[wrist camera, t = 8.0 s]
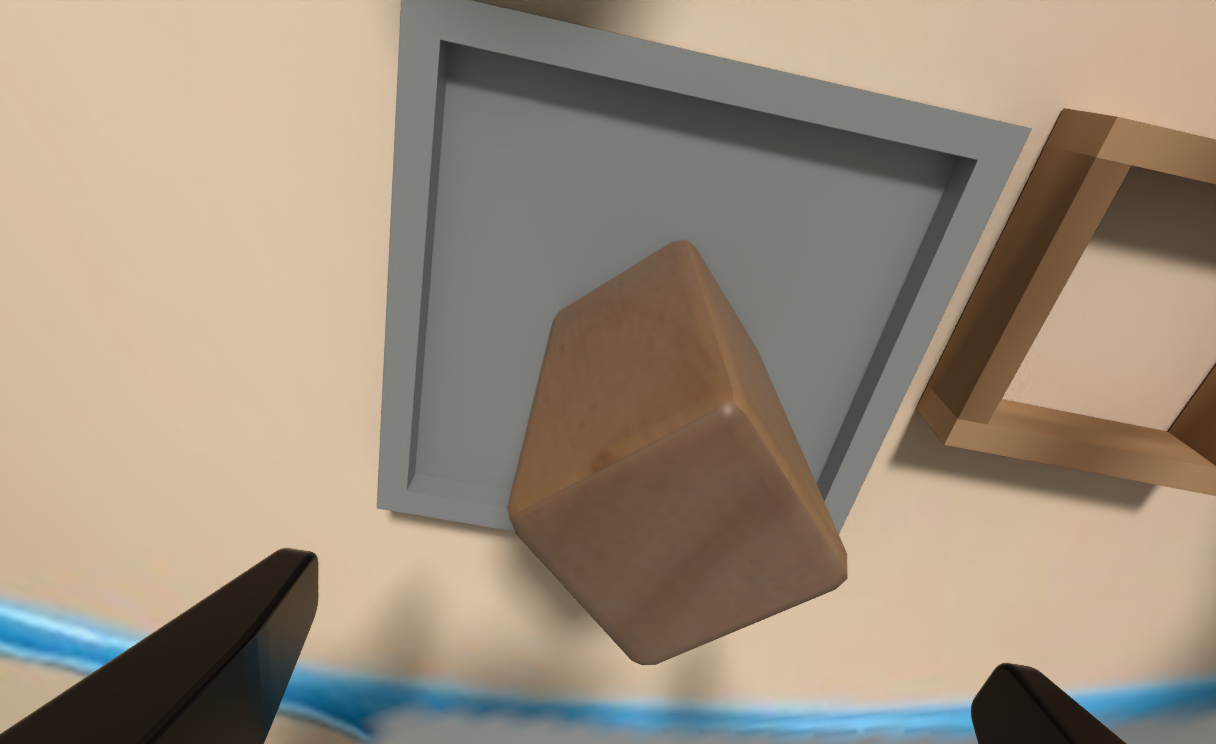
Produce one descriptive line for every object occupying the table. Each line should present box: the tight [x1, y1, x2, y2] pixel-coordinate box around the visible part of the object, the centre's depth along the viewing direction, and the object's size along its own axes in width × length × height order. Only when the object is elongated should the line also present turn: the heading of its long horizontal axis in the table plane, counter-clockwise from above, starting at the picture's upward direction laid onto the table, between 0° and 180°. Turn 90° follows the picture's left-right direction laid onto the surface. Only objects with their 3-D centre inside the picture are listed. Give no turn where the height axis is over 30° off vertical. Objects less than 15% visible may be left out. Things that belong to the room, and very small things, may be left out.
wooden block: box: [507, 240, 847, 665], centre depth 13 cm, size 4×4×8 cm
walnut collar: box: [916, 108, 1216, 496], centre depth 16 cm, size 8×8×2 cm
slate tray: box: [377, 0, 1031, 534], centre depth 17 cm, size 13×13×2 cm
